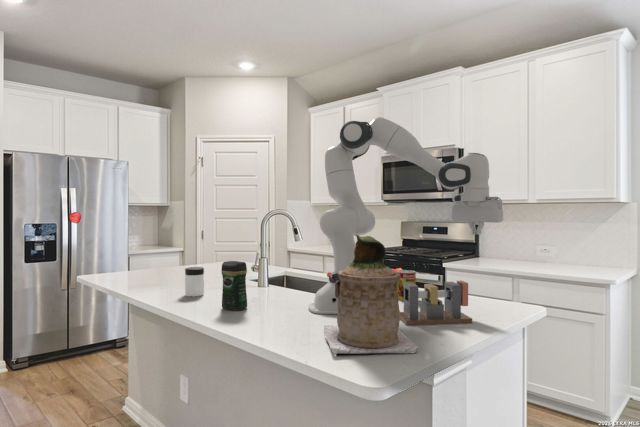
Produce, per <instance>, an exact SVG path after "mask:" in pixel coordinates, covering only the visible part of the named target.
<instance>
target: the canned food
mask: <svg viewBox="0 0 640 427" xmlns="http://www.w3.org/2000/svg"><path fill="white" fill-rule="evenodd" d="M396 273H399V274H400V276H401V278H400V280H399V281H398V282H397V293H398V297H399V301H398V302H404V283H413V284H415V285H417V283H416V282H417V281H416V280H417V279H416V277H417V275H416V273H417V271H415V270H412V269H400V270H399V269H398V270H396Z"/></svg>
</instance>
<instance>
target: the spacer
mask: <svg viewBox="0 0 640 427" xmlns="http://www.w3.org/2000/svg"><path fill="white" fill-rule="evenodd" d="M423 286H424V287H423V289H424V290H430V298H425V299H427V300H428V301H430V305H435V304H438V299H439V298H438V290H439V287H438V286H437V285H435V284H432V283H424V285H423ZM424 290H423V291H424Z"/></svg>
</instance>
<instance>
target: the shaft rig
mask: <svg viewBox="0 0 640 427" xmlns="http://www.w3.org/2000/svg"><path fill="white" fill-rule="evenodd" d="M443 290H451V297H446V298H444V303H443V300H441V299H439V298H438V304H435V305H430V301H428V300H427V299H425V298H421V300H419V298H418V291H419V286H418V285H417V284H416V285H415V284H413V283H404V301H403V311H400V321H401V322H402V323H403V324H404V325H405V326H429V325H430V326H432V325H453V324H454V325H457V324H459V323H461V324H473V318H472V317H471V316H468V315H467V314H465V313H463V312H462V306H461V285H459V284H457V282H454V281H444V289H443Z"/></svg>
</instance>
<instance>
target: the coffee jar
mask: <svg viewBox="0 0 640 427" xmlns="http://www.w3.org/2000/svg"><path fill="white" fill-rule="evenodd" d="M220 272H221V276H222V294H221V296H222V297H221V307H222V309H223V310H228V311H241V310H245V309H246V308H248V298H247V297H248V296H247V284H246V277H247V273H248V268H247V263H246V262H245V261H239V260H237V261H236V260H228V261H223V263H221V271H220Z"/></svg>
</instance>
